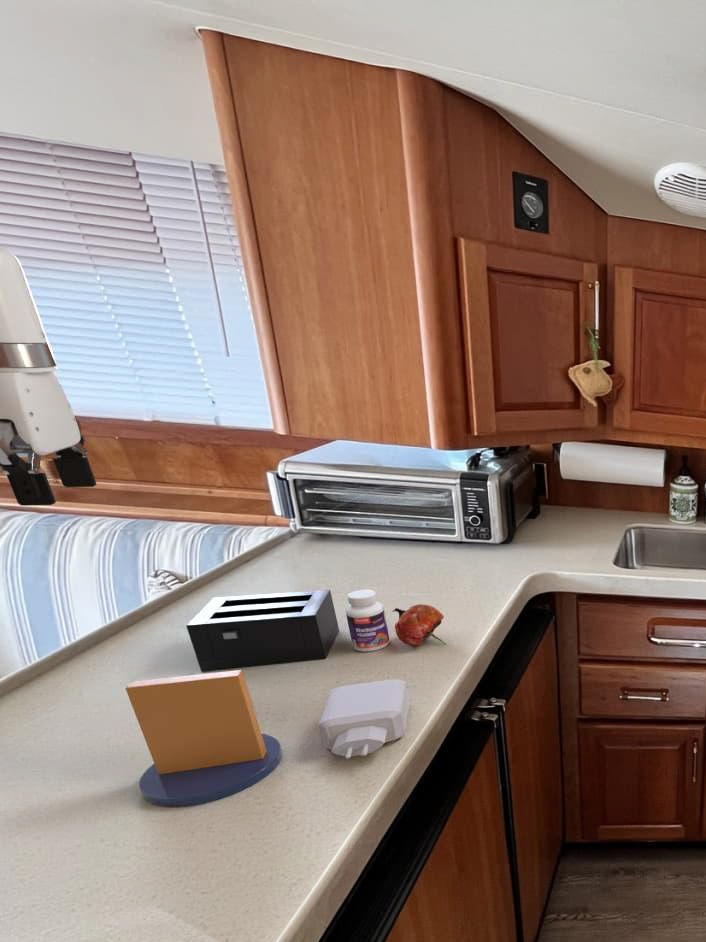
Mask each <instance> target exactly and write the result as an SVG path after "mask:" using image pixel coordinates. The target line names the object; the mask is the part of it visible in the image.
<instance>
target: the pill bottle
mask: <svg viewBox="0 0 706 942" xmlns="http://www.w3.org/2000/svg"><path fill="white" fill-rule="evenodd" d="M347 601H348V606H347V607H346V609H345V617H346V621H347V626H348V630H349V636H350V640H351V644H352V648H353V649H354V650H355V651H359V652H365V653H366V652H367V651H368V652H375V651H379V650H381V649H384V648H386V647H387V646H388V645H389V644H390V634H389V631H388V630H389V629H388V624H387V618H386V613H385V607H384V605H383V604H382V603H381V602H379V601H378V596H377V593H376V591H375V590H373V589H358V590H354V591H351V592H349V593H348V594H347Z"/></svg>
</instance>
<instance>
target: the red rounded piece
mask: <svg viewBox="0 0 706 942" xmlns="http://www.w3.org/2000/svg"><path fill="white" fill-rule="evenodd" d="M393 612H397V613H398V620H397V621H396V622H395V624H394V629H395V634H396V636H397V638H398V640H399V641H400V642H401V643H403V644H405V645H407V646H411V647H419V646H420V645H421V644H422V643H423V642H424V640H427V639H428V638H429V637H430V636H431V637H432V638H434V639H436V640H438V641H439V642H440V643H442V644H444V645H447V643H446V642H444V641H443V640H442V639H441V638H439V637H438V636H436V635H435V634H434V632H435V630H436V629H437V628H438V627H439V626H440V625H441V624H442V623H443V622H442V621H443V620H444V618H445V617H444V615H443V613H442V612H440V610H438V609H437V608H435V607H434V606H432V605H428V604H421V603H420V604H419V603H418V604H415V605H412V606H410V607H409V608H408V609H407V610H405V609H400V608H398V607H395V608H394V609H393V610H392V613H393Z"/></svg>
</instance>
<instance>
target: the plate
mask: <svg viewBox="0 0 706 942" xmlns="http://www.w3.org/2000/svg"><path fill="white" fill-rule="evenodd" d="M261 734H262V738H263V741H264V744H265V748H266V751H267V752H266V754H265V756H264V758H263V759H259V760H252V761H245V762H239V763H232V764H226V765H219V766H212V767H206V768H199V769H192V770H186V771H179V772H173V773H166V774H158V771H157V769H156V766H155V764H154V763H153V764H152V765H150V766H149V767H148V768H147V769H146V770H145V771H144V772H143V773H142V775H141V777H140V778H139V781H138V783H139V784H138V787H139V789H140V793H141V795H142V797H143V798H144V800H145V801H146V802H148V803H150V804H153V805H155V806H159V807H167V808H179V807H190V806H197V805H202V804H206V803H210V802H214V801H217V800H221V799H224V798H226V797H230V796H232V795H236V794H238V793H240V792H242V791H244V790H246V789H248V788H250V787H252V786H253V785H255V784H258V783H259V782H260V781H262V780H264V779H265V778H266V777H267V776H269V775H270V774H271V773H272V772H273V771H274V770H275V769H276V768H277V767H278V766H279V764H280V762H281V761H282V758H283V751H282V747H281V744H280V742H279V740H278V739H276V738H275V737H274V736H272V735H270V734H266V733H263V732H261Z"/></svg>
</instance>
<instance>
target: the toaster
mask: <svg viewBox="0 0 706 942" xmlns="http://www.w3.org/2000/svg"><path fill="white" fill-rule="evenodd" d="M186 630H187V633H188V635H189V639H190V642H191V643H192V644H191V645H192V647H193V650H194V651H193V652H194V654H195V657H196V660H197V663H198V666H199V669H200V672H202V673H204V672H213V671H222V670H223V671H224V670H231V669H241V668H250V667H259V666H260V667H262V666H270V665H279V664H289V663H290V664H291V663H300V662H308V661H318V660H326V659H327V657H328V655H329V653H330V651H331V649H332V647H333V644H334V642H335V641H336V638H337V636H338V635H339V632H340V627H339V623H338V619H337V614H336V610H335V605H334V600H333V596H332V592H331V589H323V590H321V589H320V590H309V591H307V590H306V591H294V592H279V593H264V594H263V593H262V594H248V595H235V596H234V595H233V596H220V597H213V598H211V599H210V600H209V601H208V603H207V604H206V605H205V606H204V607H203V608H201V610H199V612H198V613H197V614H195V616H194V617H193V618H192V619H191V620H190V621H189V622H188V623H187V624H186Z"/></svg>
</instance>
